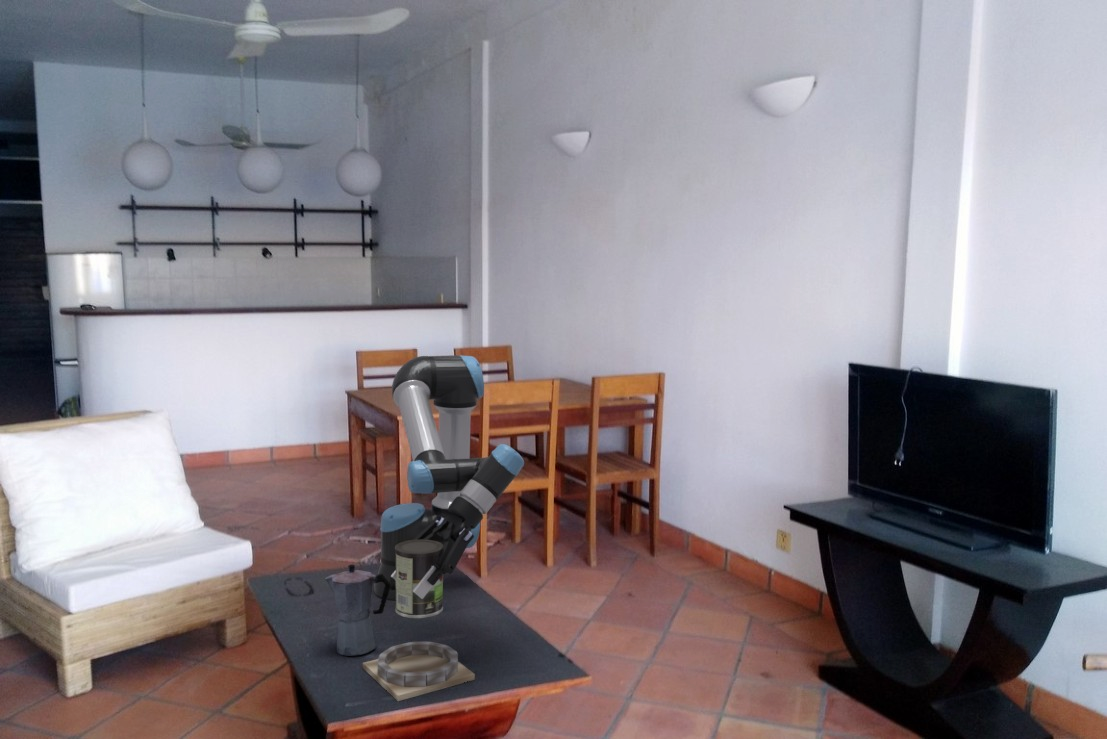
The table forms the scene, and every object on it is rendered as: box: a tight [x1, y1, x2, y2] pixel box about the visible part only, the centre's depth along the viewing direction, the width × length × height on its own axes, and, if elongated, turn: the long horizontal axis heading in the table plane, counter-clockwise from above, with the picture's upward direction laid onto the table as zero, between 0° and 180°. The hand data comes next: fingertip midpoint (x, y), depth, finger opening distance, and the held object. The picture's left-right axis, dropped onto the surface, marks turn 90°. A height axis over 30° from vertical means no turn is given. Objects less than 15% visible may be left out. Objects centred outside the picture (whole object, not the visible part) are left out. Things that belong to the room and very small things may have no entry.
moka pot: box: [324, 564, 390, 657], centre depth 203 cm, size 10×15×20 cm, turn 88°
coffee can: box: [394, 539, 444, 619], centre depth 190 cm, size 10×10×14 cm
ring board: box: [362, 641, 476, 702], centre depth 192 cm, size 18×18×4 cm
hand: (406, 587), depth 188 cm, fingers closed on coffee can, 10 cm apart
